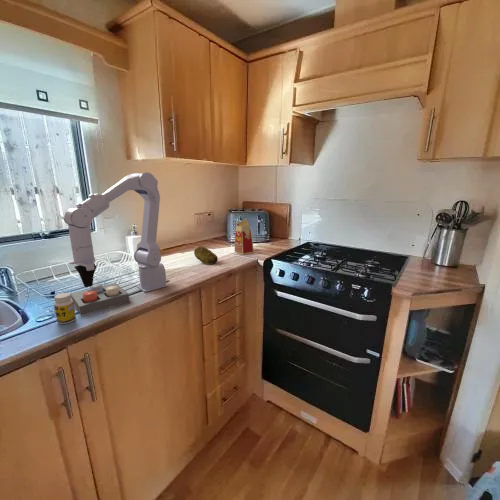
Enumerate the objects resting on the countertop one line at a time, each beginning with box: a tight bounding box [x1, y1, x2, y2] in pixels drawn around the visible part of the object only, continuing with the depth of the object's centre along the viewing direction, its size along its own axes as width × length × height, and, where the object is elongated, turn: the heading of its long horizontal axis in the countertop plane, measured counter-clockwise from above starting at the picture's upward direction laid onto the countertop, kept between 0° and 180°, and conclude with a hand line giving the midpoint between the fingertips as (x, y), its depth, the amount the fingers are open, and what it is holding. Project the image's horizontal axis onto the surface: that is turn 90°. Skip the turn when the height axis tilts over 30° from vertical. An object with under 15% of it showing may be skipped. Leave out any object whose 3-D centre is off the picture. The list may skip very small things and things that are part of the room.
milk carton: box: [234, 217, 254, 255], centre depth 159 cm, size 9×9×20 cm
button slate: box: [89, 283, 104, 293], centre depth 98 cm, size 4×4×3 cm
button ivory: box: [106, 286, 119, 297], centre depth 96 cm, size 4×4×3 cm
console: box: [69, 282, 130, 316], centre depth 96 cm, size 15×14×3 cm
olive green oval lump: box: [193, 246, 219, 265], centre depth 141 cm, size 8×13×8 cm, turn 43°
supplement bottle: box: [53, 292, 77, 325], centre depth 82 cm, size 5×5×8 cm
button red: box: [83, 291, 98, 303], centre depth 91 cm, size 4×4×3 cm
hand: (88, 286), depth 90 cm, fingers closed
